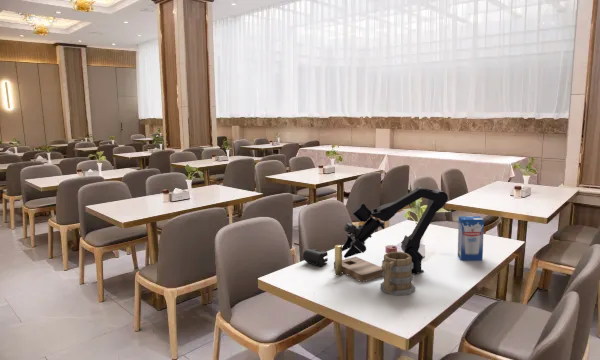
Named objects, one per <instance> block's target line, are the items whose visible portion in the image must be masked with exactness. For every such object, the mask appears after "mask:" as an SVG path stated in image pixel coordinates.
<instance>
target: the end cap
mask: <svg viewBox="0 0 600 360" xmlns="http://www.w3.org/2000/svg"><path fill="white" fill-rule="evenodd" d="M325 257H326V258H325ZM302 258H303V260H304V261H305V262H306V263H308V264H312V265H314V266H319V267H324V266H326V264H327V265H328V262H329V261H328V260H329V259H328V251H326V250H321V251H319V249H317V248H312V249H308V248H306V249H305V250H304V252H303V255H302Z"/></svg>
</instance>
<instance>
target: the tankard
mask: <svg viewBox="0 0 600 360" xmlns="http://www.w3.org/2000/svg"><path fill="white" fill-rule="evenodd" d="M380 267H382V269H384V272H382V276H381V278H382V279H383V281H382V282H381V283H380V288H381V290H382V291H383V293H384V294H385V293H386V294H390V295H393V296H407V295H410V294H412V293H414V291H415V290H416V286H415V285H414V284H413V283H412V281H413V280H414V274H412V269H413V262H412V257H411V256H410V255H409V254H407V253H404V252H402V251H390V252H387V253H385V254H383V260H382V263H381V266H380Z"/></svg>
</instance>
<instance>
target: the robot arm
mask: <svg viewBox="0 0 600 360" xmlns="http://www.w3.org/2000/svg"><path fill="white" fill-rule="evenodd" d="M422 198H423V199H427V200H428V201H427V205H426V207H425V209H424V211H423V213H422V214H421V217H420V219H419V220H418V221H417V224H416V225H415V227H414V229H413V231H412V233H411V234H409V235H404V237H403V240H402V241H401V242H400V243H401V246H400V248H401V251H403V253H407V254H409V255H410V256H411V257H412V262H413V269H412V274H413V275H416V274H421V273H423V272H424V269H422V261H423V258H424V255H422V254H421V252H420V247H421V240H422V238H423V237H424V234H425V233H426V231H427V230H428V228H429V226H430V224H431V222H432V221H433V219H434V217H435V215H436V213H437V212H439V210H441V209H442V208H443V207H444V206H445V205H446V204H447V202H448V200H449V197H448V194H447V193H446V192H445V191H443V190H441V189H437V188H436V189H429V188H423V187H422V186H417V187H416V188H415V189H413V190H412V191H410V192H408V193H406V194H405V195H403V196H401V197H400V198H397V199H396V200H394V201H393V202H388V203H385V204H382V205H380V206H378V207H377V208H371V209H369V207H368V206H366V204H365V203H364V202H361V204H358V205H357V206H355V207H354V208H353V210H351V214H352V216H354V217H355V218H356V219H357V220H358V221H359V222H360V223H363V224H362V225H361V224H359V225H358V226H357V225H355V224H352V223H350V222H346V223H345V225H344V227H343V229H344V232H346V239H345V241H344V243H343V246H342V252H345V251H346V250H347V251H346V252H345V253H344V255H343V258H344V259H348V258H351V257H354V256H355V255H359V254H364V253H365V252H366V251H367V246H366V241H367V240H368V239H369V238H370V239H371V238H372V237H373V236H372V235H373V234H374V233H375V232H376V231H377V230H378V229H379V228H381V229H383V230H385V222H388V221H389V220H391V219H392V218H393V217H394V216H395V215H397V213H398V212H400V210H403V209H404V208H405V207H408V206H409V205H411V204H412V203H415V202H416V201H418V200H420V199H422Z"/></svg>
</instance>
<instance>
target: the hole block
mask: <svg viewBox="0 0 600 360" xmlns="http://www.w3.org/2000/svg"><path fill="white" fill-rule="evenodd" d="M334 268H335V261H334V262H333V269H334ZM382 272H384V269H382V267H381V266H380V265H377V264H374V263H372V262H370V261H367V260H365V259H362V258H361V257H357V256H351V257H347V258H344V259H342V274H345V275H347V274H348V275H347V276H348V277H350V278H353V279H355V280H358V281H359V282H362V283H364V282H366V280H367V281H370V280H373V278H374V279H377V278H381V277H382ZM363 281H364V282H363Z"/></svg>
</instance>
